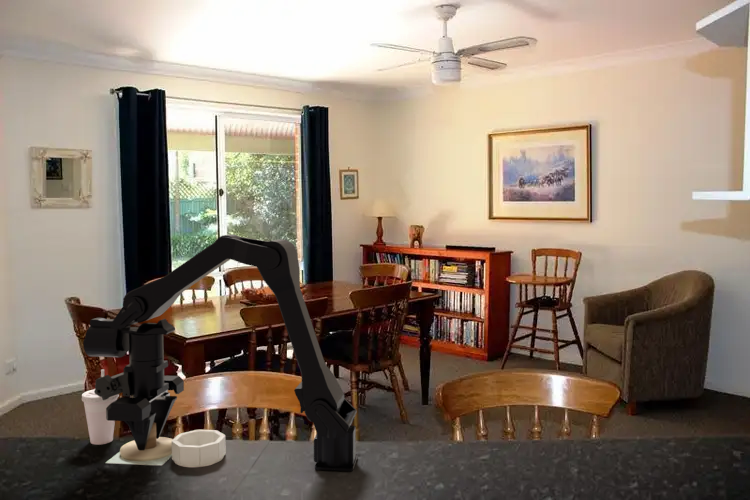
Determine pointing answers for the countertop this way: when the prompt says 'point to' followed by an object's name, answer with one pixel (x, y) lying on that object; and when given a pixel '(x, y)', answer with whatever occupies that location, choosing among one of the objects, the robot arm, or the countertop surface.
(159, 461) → the mat
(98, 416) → the smoothie
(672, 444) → the countertop surface
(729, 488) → the countertop surface
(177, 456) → the white octagonal pot
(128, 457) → the lid
